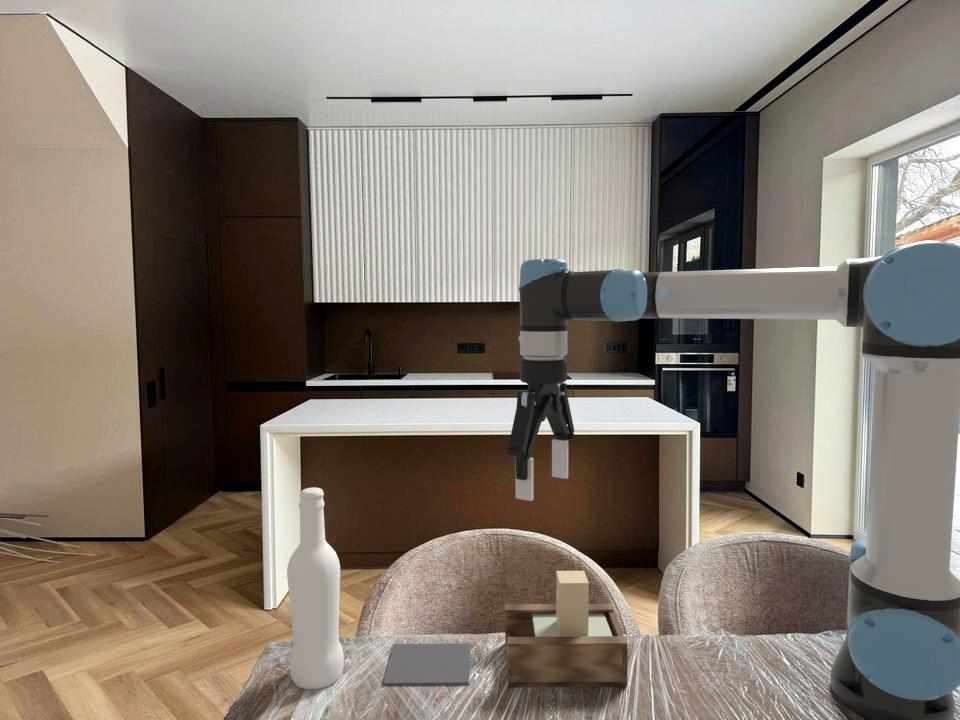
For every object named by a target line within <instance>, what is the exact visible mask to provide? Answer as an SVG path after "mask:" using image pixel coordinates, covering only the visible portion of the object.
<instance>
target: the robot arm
mask: <svg viewBox="0 0 960 720" xmlns="http://www.w3.org/2000/svg"><path fill="white" fill-rule="evenodd" d="M519 272H520V273H519V287H518V292H519V324H520V325H519V336H518V341H519V354H520V356H522V357H523V358H521V359H520V360H519V380H520V381H521V383H524V384H527V385H528V387H527V392H526V391H525V392H523V391H518V392H517V394H516V409H515V414H514V418H513V423H512V426H511V427H512V429H511V432H510V437H509V442H508V445H507V452H506V453H507V454H506V455H507V456H508V457H509V458H514V459H515V466H514V469H515V483H514V484H515V485H514V486H515V499H517V500H523V501H528V502H532V501H534V480H535V479H534V477H535V475H534V466H535V465H534V457H531V456H532V453H533V450H534V446H535V443H536V441H537V437H538V434H539V431H540V428H541V425H542V422H545V421H546V419H547V422H548V424H549V427H550V430H551V431H552V434H553V436H554V438H553V439H551V478H557V479H566V480H567V479H569V440H570V441H571V440H572V441H573V440H574V439H575V426H574V421H573V417H572V411H571V407H570V402H569V397H568V385H567V383H566V382H567V380H568V361H567V359H566V358H565V357H566V356H567V355H568V321H594V322H595V321H598V322H599V321H603V322H604V321H607V322H609V321H610V322H611V321H612V322H616V323H619V322H628V321H630V322H631V321H639V320H640V319H709V320H710V319H717V320H718V319H719V320H720V319H723V320H725V319H727V320H731V319H732V320H735V319H737V320H741V319H742V320H744V319H745V320H821V321H822V320H825V321H826V320H827V321H829V320H830V321H831V320H834V321H837V322H838V323H839V324H841V326H843V327H844V328H862V343H861V345H862V346H861V355H862V357H863V358H864V359H865V360H866V361H867V362H868V363H869V364H870V365H872V366H873V369H874V370H875V371H874V387H873V389H874V390H873V405H872V406H873V409H872V410H873V411H872V425H871V426H872V427H871V446H870V447H871V449H870V464H869V465H870V467H869V483H868V485H869V487H868V501H867V502H868V505H867V525H866V538H861V539H857V540H855V541H854V542H852V544H851V546H850V552H849V556H848V559H847V560H849V566H848V567H849V568H848V569H849V571H848V589H847V590H848V591H847V593H848V594H847V612H846V633H845V634H846V635H845V638H844V640H843V642H842V644H841V646H840V649H839V650H838V653H837V655H836V657H835V659H834V661H833V664H832V666H831V668H830V689H831V691H832V693H833V694H834V695H835V697H836V698H837V699H838V700H839V701H840V702H841V703H842V704H843V705H845V706H846V707H847V708H849V709H850V710H852V711H853V712H855V713H856V714H858V715H860V716H862V717H863V718H865V719H868V720H955V712H956V711H955V709H956V708H955V707H956V704H955V698H954V695H953V693H954V691H956V689H958V688H959V686H960V580H959V579H958V578H957V577H956V575H954V574H953V572H951V570H950V567H951V566H950V564H951V550H952V537H953V536H952V534H953V521H954V519H953V518H954V508H955V507H954V505H955V504H954V503H955V487H956V476H957V473H956V472H957V462H958V461H957V460H958V459H957V458H958V457H957V456H958V442H959V430H960V428H959V427H960V246H959V245H958V244H955V243H952V242H947V241H943V240H929V239H926V240H921V241H914V242H913V241H911V242H906V243H904V244H902V245H901V244H900V245H899V246H897V247H894V248H892V249H891V250H889V251H888V252H886V253H885V254H884V255H880V256H874V257H864V258H847V259H845V260H844V261H843V262H842V263H840V264H839V265H838V266H820V267H819V266H817V267H816V266H815V267H813V266H812V267H811V266H810V267H787V268H786V267H785V268H751V269H748V268H747V269H722V270H720V269H718V270H717V269H716V270H691V271H689V270H687V271H682V270H681V271H661V272H658V271H657V272H656V271H652V272H651V271H649V272H641V271H639V270H636V269H623V268H615V269H610V270H609V269H608V270H607V269H605V270H604V269H603V270H587V271H575V270H574V271H573V270H569V267H568V262H567V260H566V259H562V258H537V259H536V258H535V259H527V260H524V261H523V262H522V263H521V265H520V271H519Z"/></svg>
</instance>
